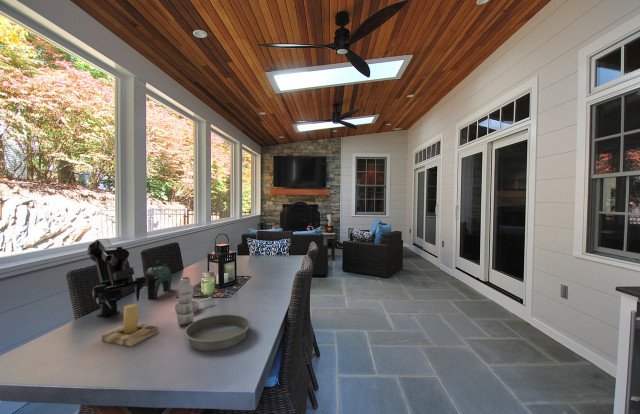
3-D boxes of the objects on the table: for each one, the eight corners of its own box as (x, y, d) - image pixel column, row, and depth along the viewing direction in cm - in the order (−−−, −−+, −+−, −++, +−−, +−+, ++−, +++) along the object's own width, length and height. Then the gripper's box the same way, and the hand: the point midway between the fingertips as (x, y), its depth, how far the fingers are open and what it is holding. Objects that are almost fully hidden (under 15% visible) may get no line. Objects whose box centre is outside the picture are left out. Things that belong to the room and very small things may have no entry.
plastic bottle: (197, 321, 125) (197, 276, 125) (185, 327, 119) (185, 280, 118) (185, 319, 127) (185, 275, 127) (173, 325, 121) (173, 279, 120)
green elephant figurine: (154, 300, 151) (154, 263, 151) (142, 300, 151) (142, 263, 151) (173, 289, 171) (173, 256, 171) (163, 289, 171) (163, 256, 171)
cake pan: (263, 332, 116) (263, 321, 116) (213, 361, 94) (213, 347, 94) (222, 319, 128) (222, 309, 128) (170, 342, 107) (170, 330, 107)
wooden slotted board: (101, 341, 107) (101, 334, 107) (130, 327, 118) (130, 321, 118) (130, 346, 103) (130, 339, 103) (157, 332, 114) (157, 325, 114)
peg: (121, 339, 108) (121, 308, 108) (126, 334, 112) (126, 304, 112) (134, 338, 109) (134, 307, 109) (139, 333, 113) (139, 303, 113)
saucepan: (170, 312, 135) (170, 304, 135) (205, 302, 150) (205, 295, 150) (181, 318, 129) (181, 309, 129) (216, 306, 143) (216, 299, 143)
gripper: (91, 267, 112) (98, 302, 105) (144, 258, 125) (153, 288, 119) (89, 281, 118) (96, 315, 111) (140, 271, 131) (149, 301, 125)
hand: (125, 304), depth 116 cm, fingers open, 9 cm apart
